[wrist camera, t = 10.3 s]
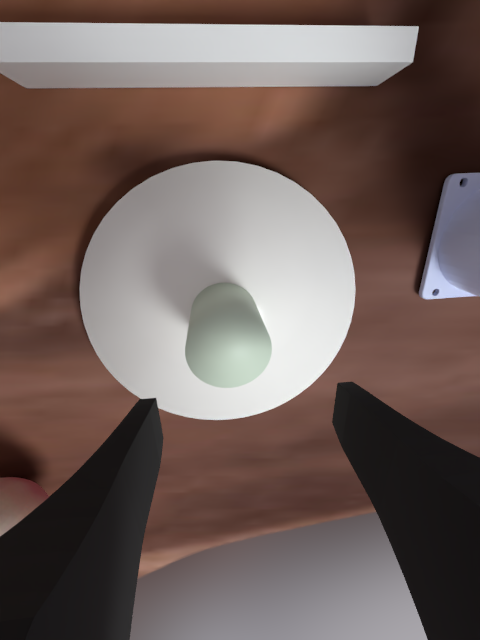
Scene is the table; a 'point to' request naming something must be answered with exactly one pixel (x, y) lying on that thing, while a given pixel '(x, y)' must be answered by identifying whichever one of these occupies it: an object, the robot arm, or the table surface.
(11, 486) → the decorative fruit
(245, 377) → the green cylinder
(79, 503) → the robot arm
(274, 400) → the white plate
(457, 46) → the table surface
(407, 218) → the table surface
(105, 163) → the table surface
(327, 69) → the light grey rectangular bar
